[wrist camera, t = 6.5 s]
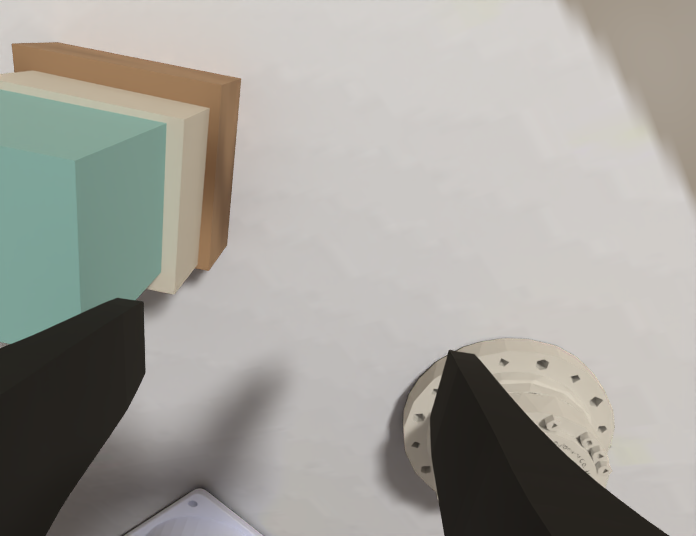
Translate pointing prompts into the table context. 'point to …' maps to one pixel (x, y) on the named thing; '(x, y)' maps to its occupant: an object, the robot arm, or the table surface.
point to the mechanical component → (526, 403)
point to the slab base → (170, 85)
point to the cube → (75, 210)
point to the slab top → (180, 158)
